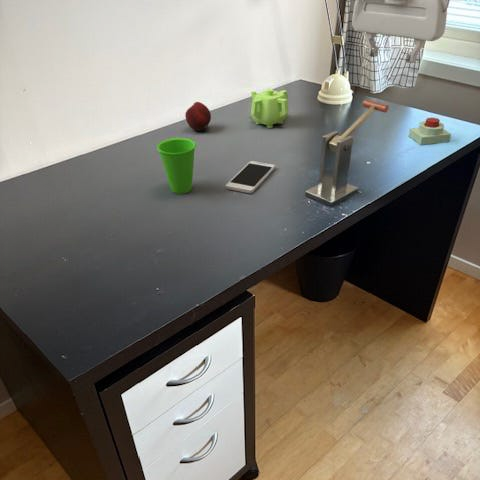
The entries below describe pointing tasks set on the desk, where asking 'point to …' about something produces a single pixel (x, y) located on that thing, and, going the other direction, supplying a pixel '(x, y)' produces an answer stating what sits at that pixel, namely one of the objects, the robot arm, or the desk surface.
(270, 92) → the green pot with handles
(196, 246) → the desk surface
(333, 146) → the lever
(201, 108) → the apple
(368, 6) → the robot arm
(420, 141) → the control block
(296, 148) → the desk surface
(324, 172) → the bracket
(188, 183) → the cup
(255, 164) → the smartphone
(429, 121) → the button
